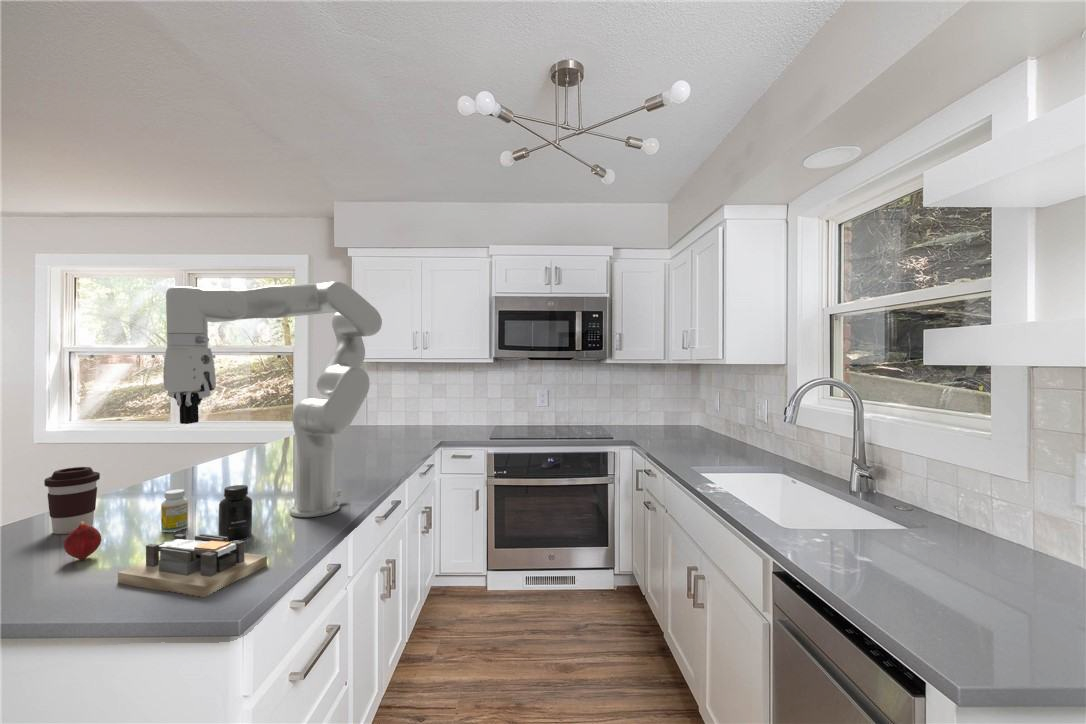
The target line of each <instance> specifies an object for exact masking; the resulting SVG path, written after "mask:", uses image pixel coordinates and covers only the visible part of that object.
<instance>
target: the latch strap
mask: <svg viewBox="0 0 1086 724" xmlns="http://www.w3.org/2000/svg"><path fill="white" fill-rule="evenodd" d="M158 545H159V552H160V549H162V548H165V547H167V546H171V547H178V548H185V549H192V550H196V555H201V554H203V553H205V552H211V553H216V557H219V556H221V555H223V554H225V553H228V552H230V551H232V550H235V549H236V544H233V543H231V542H221V541H209V542H208V541H195V539H186V540H183V539H174V538H173V539H170V540H168V541H165V542H163V543H159V544H158Z"/></svg>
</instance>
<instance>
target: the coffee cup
mask: <svg viewBox="0 0 1086 724" xmlns="http://www.w3.org/2000/svg"><path fill="white" fill-rule="evenodd" d="M100 477H101V473H100V472H98V471H94V470H93V468H92V467H90V466H75V467H68V468H63V469H57V470H55V471H54V472H53V473H52V475H51V476H49V477H46V478H45V479H44V480H43V481H44V487H47V489H48V490H47V491H48V492H47V503H48V504H47V505H48V512H49V513H48V514H49V517H50V519H51V528H52V529H51V530H52V533H53V534H55V535H69V534H70V533H71V532H72V531H73V530H75V529H76V528H78V526H79V524H80V523H81V522H82V521H83V522H85V523H86V524H87V525H88V526H92V527H94V516H95V515H94V514H95V510H96V507H97V505H96V504H97V496H98V494H97V492H98V487H97V482H98V481H99V480H100Z"/></svg>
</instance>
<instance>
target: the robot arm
mask: <svg viewBox="0 0 1086 724" xmlns="http://www.w3.org/2000/svg"><path fill="white" fill-rule="evenodd" d="M165 309H166V310H165V311H166V313H165V315H166V350H165V354H164V360H163V361H164V362H163V378H162V379H163V387H164V390H165V391H167V393H166V394H167V396H168V397H170V398H173V399H175V401H176V405H177V406H178V407H179V423H180V424H181V425H190V424H195V423H199V421H200V419H199V406H200V405H201V404H202V401H203V399H206V398H210V397H211V392H212V391H214V390H216V384H217V383H216V382H217V379H216V368H215V361H214V356H213V352H212V348H210V347H209V342H210V338H209V334H208V333H209V329H208V327H209V325H208V323H220V322H235V321H238V320H239V321H240V320H248V319H249V320H251V319H281V318H292V317H299V316H311V315H321V314H331V313H334V314H333V316H332V321H331V325H332V329H333V332H334V336H335V339H336V348H335V349H334V351H333V354H332V356H331V357H330V359H329V360H328V362H327V364H326V366H325V367H324V369H323V371H321V373H320V375H319V377H318V379H317V382H316V387H317V391H318V392H319V394H321V395H322V396H323V397H326V398H323V397H322V398H320V397H309V398H305V399H303V400H300V401H299V402H298V403H297V405H295V407H294V409H293V410H292V411H293V412H292V425H293V430H294V435H295V445H296V446H295V449H296V450H295V453H296V455H295V456H296V457H295V462H296V463H295V464H296V465H295V472H296V473H295V474H296V475H295V481H296V484H295V485H296V486H295V487H296V489H295V495H296V496H295V497H296V498H295V499H296V500H295V501H296V504H294V506H292V507H291V508H290V509H289V514H290V515H291V516H292V517H296V518H314V517H315V518H316V517H317V518H318V517H323V516H326V515H330V514H332V513H336V512H337V511H338V510H339V509H340V503H339V502H338V501H336V499H337V498H339V497H341V496H343V495H344V490H343V489H342V488H339V489H337V490H335V489H334V488H335V487H334V486H335V485H334V483H335V482H334V481H335V478H334V477H335V476H334V475H335V474H334V473H335V471H334V468H335V465H334V461H335V460H334V456H335V455H334V450H335V449H334V440H333V435H334V436H335V435H340V434H342V433H344V432H345V431H346V430H347V429H348V428H349V427H350V426H351V424H352V423H353V421H354V420H355V417H356V415H357V413H358V412H359V410H360V409H361V407H362V405H363V403H364V401H365V399H366V398H367V395H368V393H369V389H370V383H371V382H370V377H369V374H368V373H367V372H366V371H365V369H363V368H362V367H361V366H362V365H363V363H364V360H365V357H366V349H365V348H366V347H365V343H364V339H363V337H372V336H374V335H376V334H378V332H379V331H380V330H381V329H382V325H383V321H382V320H383V319H382V316H381V314H380V312H379V311H378V310H377V309H376V308H375V307H374V306H373V305H372V304H371V303H370V302H368V301H367V299H365V298H364V297H363V296H362V295H361V294H359V293H358V292H357V291H356V290H354V289H353V288H352V287H350V285H347V284H346V283H344V282H341V281H336V280H335V281H328V282H319V283H317V282H316V283H300V284H299V283H298V284H295V283H294V284H277V285H268V286H263V287H257V288H252V289H241V290H235V289H229V288H227V289H226V288H222V289H221V288H220V289H208V288H207V289H206V288H205V289H203V288H199V287H193V286H181V285H180V286H171V287H169V288H168V289H167V290H166V293H165Z"/></svg>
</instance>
